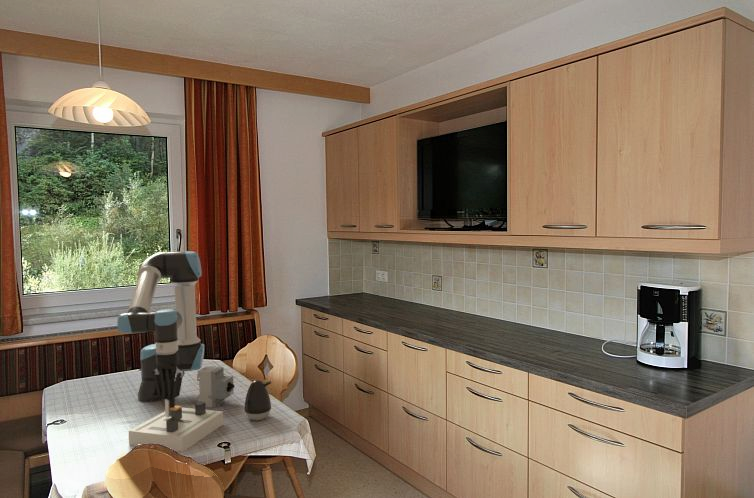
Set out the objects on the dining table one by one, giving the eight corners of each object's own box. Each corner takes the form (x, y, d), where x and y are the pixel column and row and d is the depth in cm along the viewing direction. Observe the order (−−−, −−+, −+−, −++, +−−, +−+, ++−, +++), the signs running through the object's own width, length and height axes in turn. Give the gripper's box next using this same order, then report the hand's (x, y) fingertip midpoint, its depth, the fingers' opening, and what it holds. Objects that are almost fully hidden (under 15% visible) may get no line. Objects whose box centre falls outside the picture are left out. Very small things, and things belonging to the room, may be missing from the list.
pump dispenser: (272, 421, 197) (271, 383, 196) (244, 424, 195) (243, 385, 194) (271, 412, 207) (270, 375, 206) (245, 414, 205) (244, 377, 204)
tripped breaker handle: (171, 420, 185) (170, 408, 185) (176, 417, 188) (176, 405, 188) (176, 421, 185) (176, 408, 184) (182, 418, 187) (181, 406, 187)
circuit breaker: (229, 408, 212) (228, 372, 211) (198, 406, 215) (196, 371, 214) (237, 401, 220) (236, 367, 219) (207, 400, 222) (206, 366, 222)
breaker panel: (129, 444, 178) (128, 419, 178) (174, 419, 201) (173, 396, 201) (182, 451, 172) (181, 425, 171) (223, 424, 195) (222, 401, 194)
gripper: (144, 353, 184) (147, 418, 185) (175, 356, 180) (177, 421, 181) (159, 348, 191) (161, 410, 192) (188, 350, 188) (191, 413, 189)
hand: (169, 415), depth 187 cm, fingers closed
